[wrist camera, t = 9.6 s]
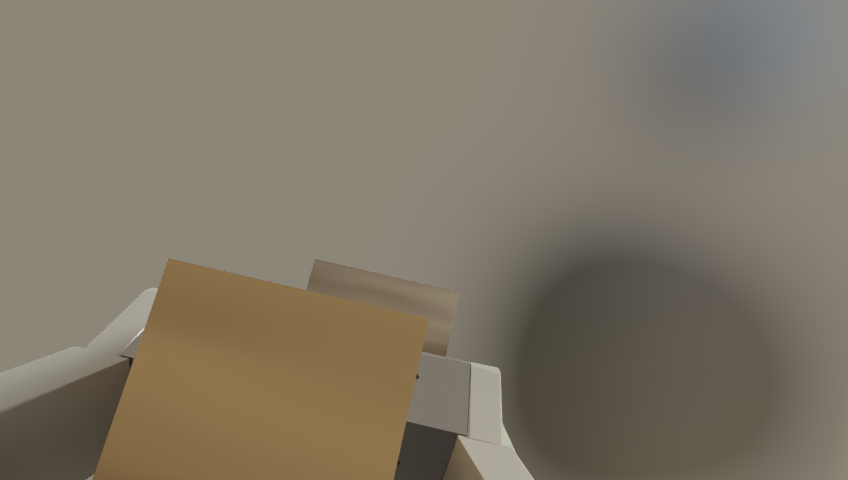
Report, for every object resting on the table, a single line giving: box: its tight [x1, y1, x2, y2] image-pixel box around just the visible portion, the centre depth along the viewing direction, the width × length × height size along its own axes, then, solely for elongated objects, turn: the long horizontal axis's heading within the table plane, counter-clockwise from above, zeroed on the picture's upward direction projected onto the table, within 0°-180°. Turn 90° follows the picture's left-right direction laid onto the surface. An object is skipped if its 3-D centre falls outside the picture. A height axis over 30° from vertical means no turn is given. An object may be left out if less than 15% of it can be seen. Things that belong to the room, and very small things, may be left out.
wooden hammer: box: [93, 259, 459, 480], centre depth 16 cm, size 22×7×6 cm, turn 0°
